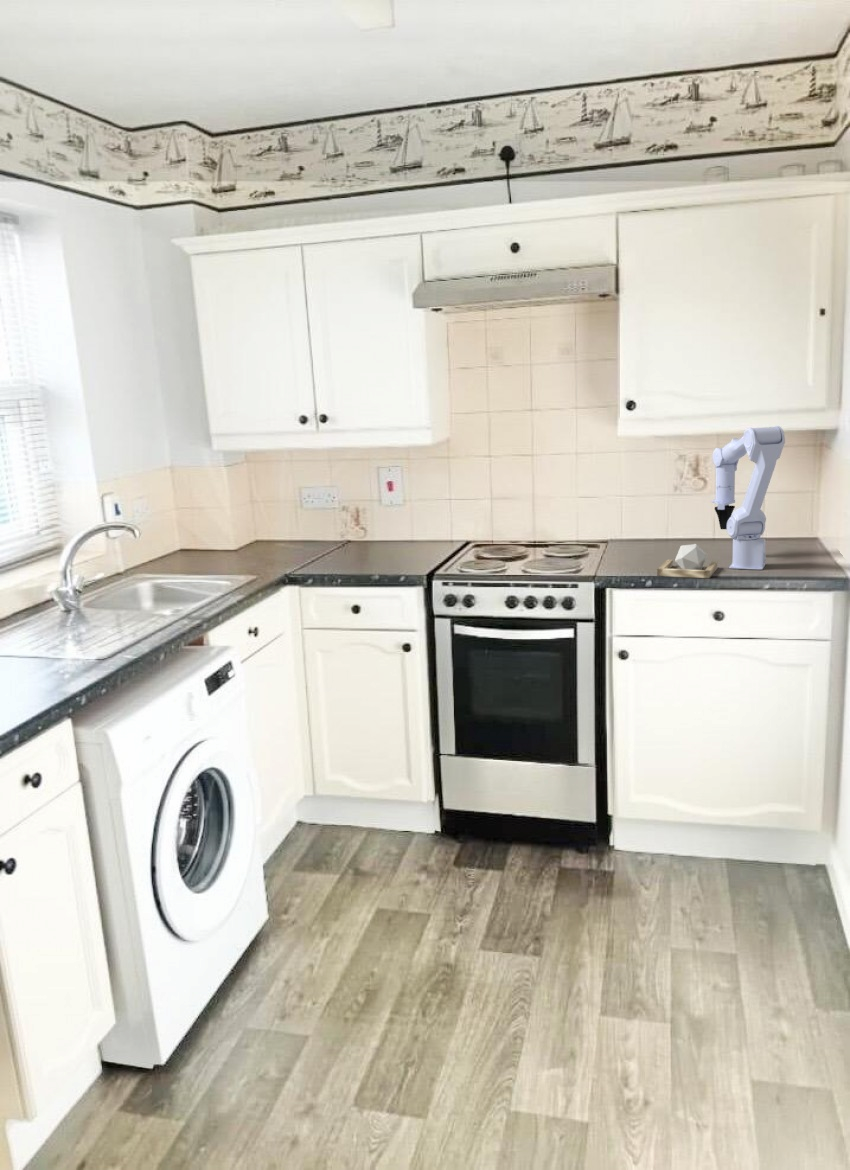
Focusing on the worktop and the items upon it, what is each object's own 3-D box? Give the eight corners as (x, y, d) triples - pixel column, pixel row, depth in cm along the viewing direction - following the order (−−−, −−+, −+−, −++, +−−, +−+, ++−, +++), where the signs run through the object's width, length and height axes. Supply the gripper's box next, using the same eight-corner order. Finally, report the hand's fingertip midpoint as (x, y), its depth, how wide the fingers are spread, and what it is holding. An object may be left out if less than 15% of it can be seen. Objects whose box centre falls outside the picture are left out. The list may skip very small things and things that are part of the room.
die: (704, 575, 269) (715, 547, 271) (679, 563, 268) (690, 535, 270) (691, 580, 276) (702, 552, 279) (667, 568, 276) (677, 540, 278)
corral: (717, 567, 275) (717, 561, 275) (709, 578, 263) (709, 571, 262) (667, 565, 282) (667, 559, 281) (657, 575, 269) (657, 569, 269)
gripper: (715, 483, 291) (715, 524, 294) (707, 489, 279) (707, 532, 282) (738, 483, 288) (737, 525, 291) (731, 489, 276) (730, 533, 279)
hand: (724, 529), depth 286 cm, fingers closed
